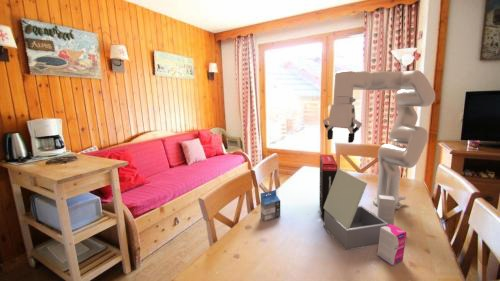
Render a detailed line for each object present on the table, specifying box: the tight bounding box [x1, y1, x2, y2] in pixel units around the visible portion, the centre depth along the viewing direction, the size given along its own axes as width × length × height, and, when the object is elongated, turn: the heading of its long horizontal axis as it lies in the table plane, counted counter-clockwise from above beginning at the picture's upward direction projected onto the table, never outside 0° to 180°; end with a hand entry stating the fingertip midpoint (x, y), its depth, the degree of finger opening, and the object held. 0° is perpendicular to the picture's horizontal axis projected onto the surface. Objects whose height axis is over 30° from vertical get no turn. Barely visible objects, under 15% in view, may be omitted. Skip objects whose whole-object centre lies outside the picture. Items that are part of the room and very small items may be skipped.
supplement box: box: [377, 224, 407, 267], centre depth 82 cm, size 6×6×12 cm
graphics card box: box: [319, 153, 338, 221], centre depth 115 cm, size 17×7×27 cm, turn 168°
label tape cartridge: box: [260, 189, 281, 222], centre depth 112 cm, size 9×4×12 cm, turn 118°
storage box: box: [323, 205, 389, 251], centre depth 97 cm, size 18×16×8 cm
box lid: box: [323, 168, 368, 229], centre depth 94 cm, size 18×17×1 cm
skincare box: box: [376, 195, 396, 225], centre depth 106 cm, size 6×4×12 cm
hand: (339, 140), depth 104 cm, fingers open, 9 cm apart
